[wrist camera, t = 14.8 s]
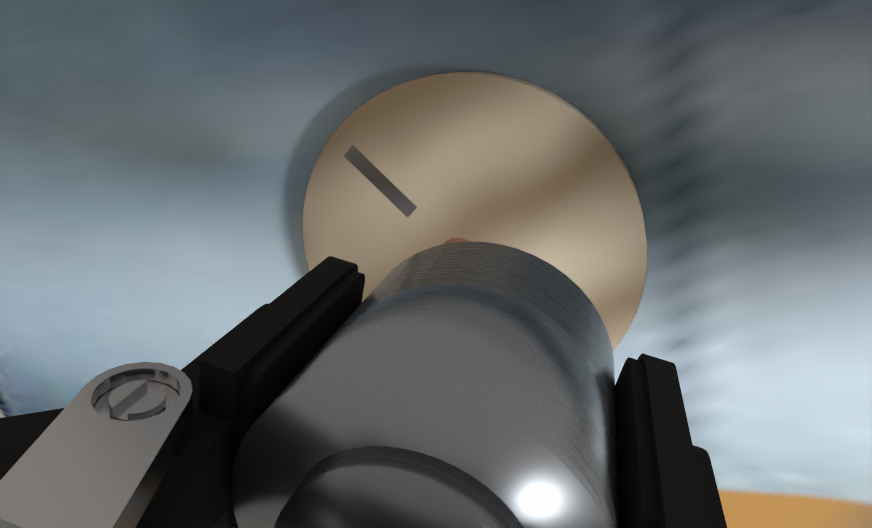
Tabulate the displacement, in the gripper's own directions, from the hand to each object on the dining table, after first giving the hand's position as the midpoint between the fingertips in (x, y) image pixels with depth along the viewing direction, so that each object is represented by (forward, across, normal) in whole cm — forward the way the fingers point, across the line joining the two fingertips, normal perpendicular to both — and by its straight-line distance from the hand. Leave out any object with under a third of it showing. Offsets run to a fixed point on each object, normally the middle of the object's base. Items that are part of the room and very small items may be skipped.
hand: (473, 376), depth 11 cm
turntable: (+16, +3, +4) cm, 17 cm away
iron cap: (+1, 0, 0) cm, 1 cm away
